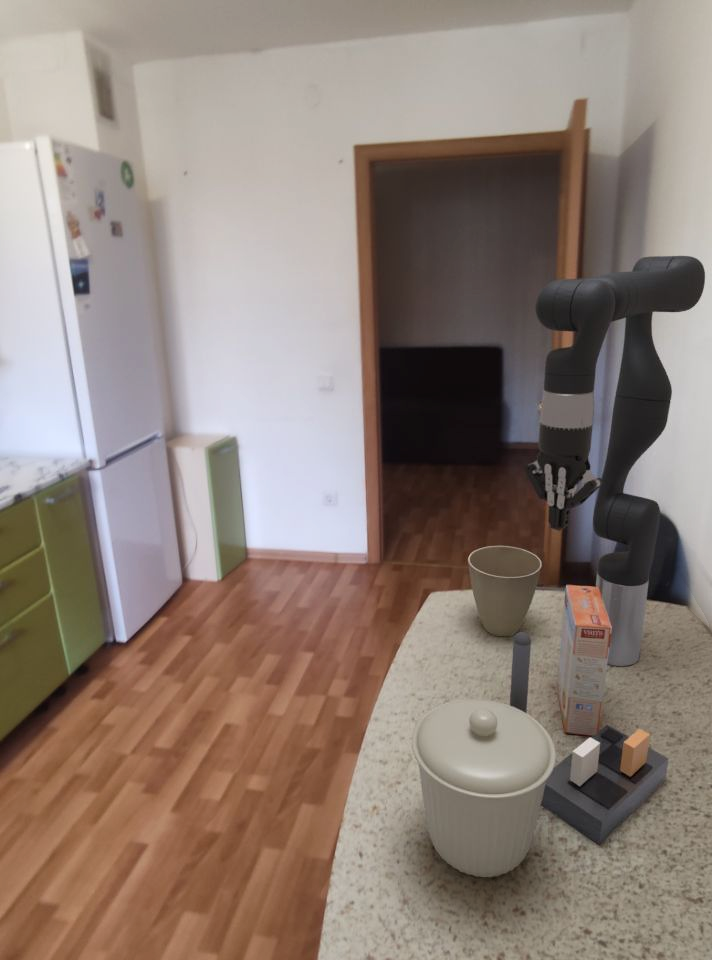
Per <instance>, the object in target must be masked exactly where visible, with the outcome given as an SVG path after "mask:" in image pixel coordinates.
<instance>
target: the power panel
mask: <svg viewBox="0 0 712 960" xmlns="http://www.w3.org/2000/svg"><path fill="white" fill-rule="evenodd" d="M590 737H591V738H593V739H594V740H596V741H598V742H599V743H600V750H599V759H598V768H597V772H596V773H595V774H594V775H592V776H591V777H590V778H589V779H588V780H587V781H585V782H584V783H583V784H582V785H581V786H578V785H577V784H575V783H574V782H572V781H571V780H570V773H571V763H572V752H571V753H570V754H569V755H568V756H567V757H565V758H564V759H563V760H562V761H560V762H559V763H558V764H557V765H556V766H554V769H553V771H552V773H551V775H550V776H549V778H548V779H547V780H546V784H545V789H544V793H543V797H542V802H541V806H543V807H544V808H545V809H547V810H548V811H550V812H551V813H553V815H555V816H556V817H558V818H559V819H561V820H562V821H564V822H565V823H567V824H568V825H569V826H571V827H572V828H574V830H576V831H578V832H579V833H581V834H582V835H584V836H585V837H586V838H588V839H589V840H591V841H592V842H594V843H595V844H596V845H597V846H601V845H602V843H604V842H605V841H606V840H607V839H608V838H609V837H610V836H611V835H612V834H613V833H614V832H615V831H616V830H617V829H618V828H619V827H620V826H621V824H623V823H624V822H625V821H626V820H627V819H628V818H629V817H630V816H631V815H632V814H634V813H635V811H636V810H637V809H638V808H639V807H640V806H641V805H642V804H643V803H644V802H645V801H646V800H648V798H649V797H650V796H651V795H652V794H653V793H654V792H655V791H656V790H657V789H658V788H659V787H660V786H661V785H662V784H663V783H664V782H665V781H666V777H667V771H668V766H669V758H668V757H667V756H665V755H663V754H662V753H659V752H658V751H656V750H654V749H652V748H650V747H649V746H648V752H647V760H646V763H645V764H644V765H643V766H642V767H641V768H639V769H638V770H637V771H636V772H635V773H634V774H633V775H632V776H631V777H630V776H628V775H626V774H625V773H623V772H621V771H620V767H621V759H622V751H623V743H624V741H626V740H627V739H628V738H629V737H630V736H629V735H626V734H625V733H623V732H621V731H620V730H618V729H616V728H614V727H612V726H610V725H609V724H606V725H605V726H603V727H602V728H601V729H599V732H598V733H596V734H595V735H594V736H590Z"/></svg>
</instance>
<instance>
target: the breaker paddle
mask: <svg viewBox="0 0 712 960" xmlns="http://www.w3.org/2000/svg"><path fill="white" fill-rule="evenodd" d="M650 737H651V733H649V732H647V731H644V729H641V728H638V729H637V730H636V731H635V732H634V733H632V734H631V735H630V736H629V738H628V739H627V740H626V741H624V743H623V751H622V759H621V767H620V771H621V772H623V773H625V774H626V775H628V776H630V777H631V776H632V775H633V774H634V773H635V772H636V771H637V770H638V769H639V768H641V767H642V766H643V765H644V764H645V763H646V760H647V752H648V747H649V745H650Z"/></svg>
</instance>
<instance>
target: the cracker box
mask: <svg viewBox="0 0 712 960" xmlns="http://www.w3.org/2000/svg"><path fill="white" fill-rule="evenodd" d="M561 626H562V627H561V635H560V636H561V637H560V646H559V647H560V648H559V657H558V665H557V666H558V668H557V679H556V688H557V693H558V695H557V697H558V701H559V708H560V713H561V720H562V727H563V733H564V734H572V735H578V736H579V735H581V736H589V737H593V736H594V735H595V734H596V733H598V732H599V731H600V728H601V727H600V725H601V719H602V710H603V702H604V694H605V688H606V687H605V686H606V680H607V668H608V664H607V662H608V655H609V647H610V639H611V631H612V627H611V624H610V621H609V618H608V615H607V612H606V609H605V606H604V603H603V599H602V596H601V593H600V590H599V588H598V587H596V586H591V585H575V584H574V585H573V584H566V586H565V591H564V603H563V615H562V625H561Z"/></svg>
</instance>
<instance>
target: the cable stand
mask: <svg viewBox="0 0 712 960" xmlns="http://www.w3.org/2000/svg"><path fill="white" fill-rule="evenodd" d="M531 646H532V639H531V637H530V635H529V634H528V633H527V632H523V631H519V632H517V633H515V634H514V636H513V643H512V657H511V658H512V660H511V661H512V662H511V678H510V694H509V696H510V697H509V705H510V706H513V707H515V708H517V709H519V710H521V711H523V712H525V713H527V708H528V706H527V705H528V694H529V679H530V678H529V676H530V662H531V660H530V659H531V650H532V649H531V648H532V647H531Z"/></svg>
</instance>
